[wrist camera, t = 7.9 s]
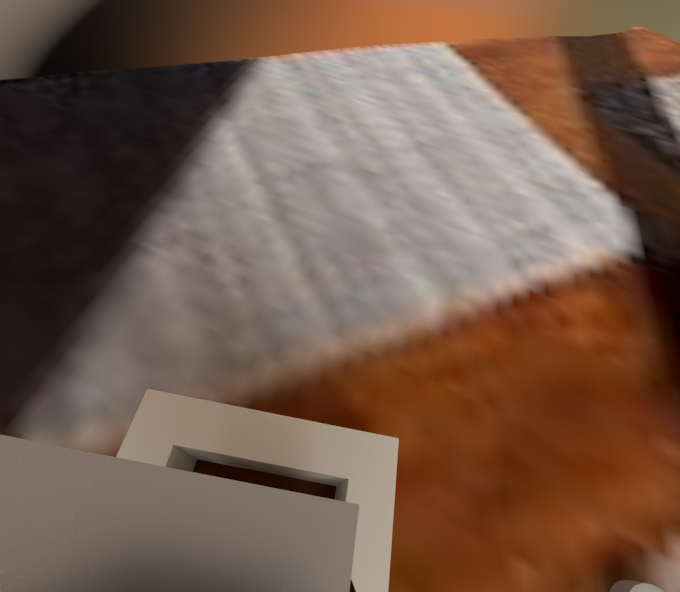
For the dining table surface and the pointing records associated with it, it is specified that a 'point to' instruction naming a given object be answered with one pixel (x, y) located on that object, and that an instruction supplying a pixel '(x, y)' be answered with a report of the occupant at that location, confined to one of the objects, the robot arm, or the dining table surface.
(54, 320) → the dining table surface
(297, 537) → the steel peg
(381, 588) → the socket block
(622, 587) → the adjustable wrench
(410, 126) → the dining table surface
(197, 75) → the dining table surface
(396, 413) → the dining table surface
